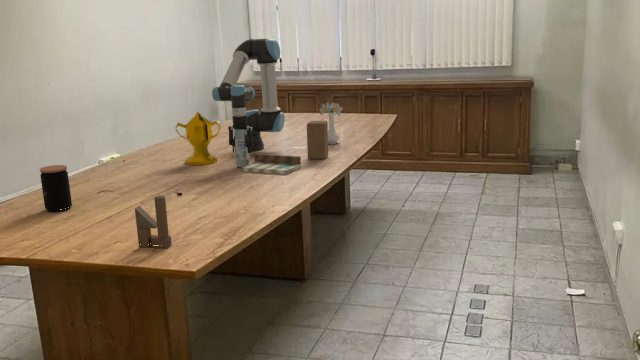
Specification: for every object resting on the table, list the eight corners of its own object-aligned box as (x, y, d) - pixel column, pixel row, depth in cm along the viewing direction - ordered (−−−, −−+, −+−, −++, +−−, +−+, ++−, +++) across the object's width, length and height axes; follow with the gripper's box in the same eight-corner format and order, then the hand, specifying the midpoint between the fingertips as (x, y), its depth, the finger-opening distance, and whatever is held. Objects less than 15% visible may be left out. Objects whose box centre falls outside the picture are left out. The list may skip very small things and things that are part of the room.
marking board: (241, 171, 328) (241, 159, 327) (256, 164, 343) (256, 153, 341) (287, 174, 318) (286, 162, 317) (300, 167, 332) (300, 156, 331)
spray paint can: (239, 167, 335) (236, 130, 330) (234, 165, 340) (232, 128, 335) (250, 166, 338) (248, 128, 333) (246, 163, 343) (244, 127, 338)
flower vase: (345, 140, 403) (344, 100, 396) (338, 145, 385) (337, 104, 379) (325, 139, 406) (324, 100, 400) (317, 145, 389) (316, 104, 383)
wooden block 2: (143, 244, 224) (137, 194, 220) (172, 245, 222) (167, 195, 218) (138, 247, 221) (133, 197, 216) (167, 248, 219) (163, 198, 215)
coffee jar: (50, 206, 275) (44, 165, 271) (75, 204, 276) (70, 164, 272) (41, 213, 265) (35, 171, 261) (68, 212, 266) (62, 170, 262)
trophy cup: (176, 161, 358) (172, 111, 351) (219, 156, 366) (216, 107, 359) (181, 167, 342) (176, 115, 335) (226, 162, 350) (222, 111, 343)
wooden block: (325, 159, 349) (324, 123, 344) (307, 159, 351) (306, 123, 346) (328, 155, 359) (327, 120, 354) (311, 155, 361) (310, 120, 356)
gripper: (219, 115, 333) (222, 159, 338) (252, 117, 325) (255, 161, 331) (227, 113, 339) (230, 156, 345) (259, 114, 332) (261, 158, 337)
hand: (242, 158), depth 338 cm, fingers closed on spray paint can, 6 cm apart
